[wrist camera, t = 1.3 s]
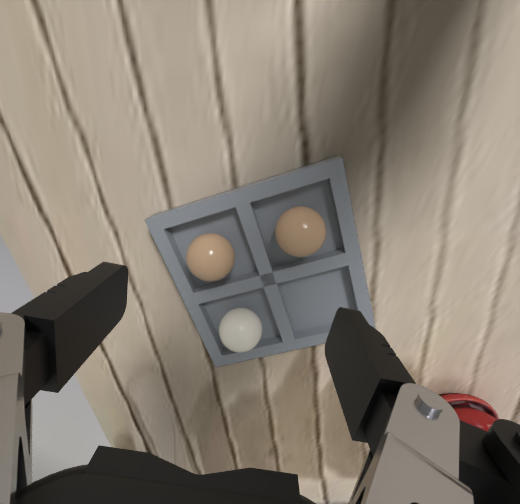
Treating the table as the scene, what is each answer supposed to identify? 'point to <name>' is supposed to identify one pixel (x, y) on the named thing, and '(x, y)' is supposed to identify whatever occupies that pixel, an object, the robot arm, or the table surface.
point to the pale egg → (240, 330)
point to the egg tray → (269, 260)
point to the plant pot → (472, 410)
